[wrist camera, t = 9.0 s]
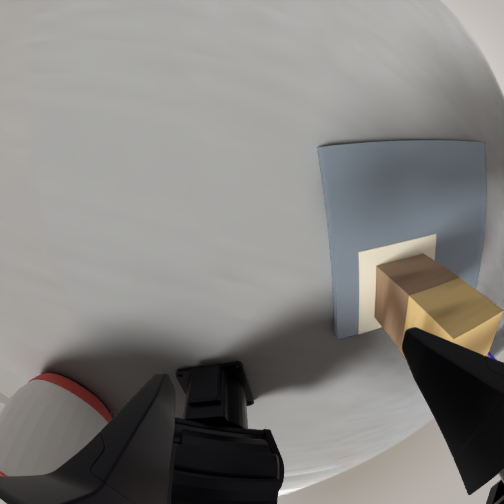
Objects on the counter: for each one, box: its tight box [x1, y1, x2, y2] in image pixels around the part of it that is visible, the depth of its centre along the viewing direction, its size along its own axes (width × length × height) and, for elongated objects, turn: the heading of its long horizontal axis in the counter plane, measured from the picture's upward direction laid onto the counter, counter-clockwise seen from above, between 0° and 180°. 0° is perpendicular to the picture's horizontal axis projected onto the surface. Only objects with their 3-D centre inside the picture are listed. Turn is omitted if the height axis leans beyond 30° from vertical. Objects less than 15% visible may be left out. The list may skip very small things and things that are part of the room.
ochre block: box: [400, 278, 504, 361], centre depth 14 cm, size 5×5×5 cm
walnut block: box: [374, 253, 460, 350], centre depth 18 cm, size 5×5×5 cm
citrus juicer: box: [0, 373, 112, 476], centre depth 16 cm, size 16×17×20 cm
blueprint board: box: [317, 140, 487, 340], centre depth 20 cm, size 16×18×1 cm
